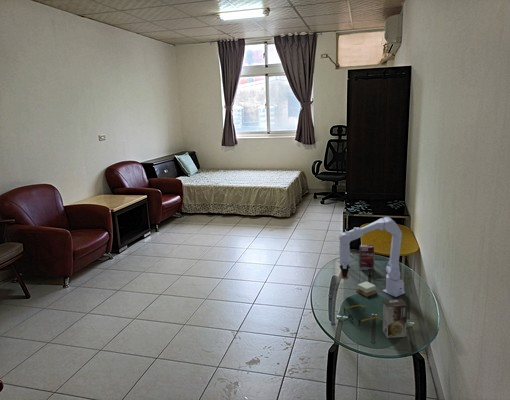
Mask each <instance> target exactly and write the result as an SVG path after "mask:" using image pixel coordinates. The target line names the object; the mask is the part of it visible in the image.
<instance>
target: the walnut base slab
mask: <svg viewBox="0 0 510 400" xmlns="http://www.w3.org/2000/svg"><path fill="white" fill-rule="evenodd" d="M377 292H378V291H377V289H376V288H375V290H373V291H370V292H367V293H366V292H364V291H362V290H360V289H358V287H357V288H356V293H358V294H360V295H362V296H364V297H366V298H367V297H370V296H373V295H375V294H377Z"/></svg>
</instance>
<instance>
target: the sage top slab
mask: <svg viewBox="0 0 510 400" xmlns="http://www.w3.org/2000/svg"><path fill="white" fill-rule="evenodd" d="M357 288H358V289H360V290H362V291H364V292H366V293H367V292H370V291H373V290H375V289H376V285H375V284H373V283H371V282H369V281H367V280H365V281H364V282H360V283H358V284H357Z"/></svg>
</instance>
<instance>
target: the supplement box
mask: <svg viewBox="0 0 510 400" xmlns="http://www.w3.org/2000/svg"><path fill="white" fill-rule="evenodd" d="M358 249H359V253H358V255H359V257H358V258H359V259H358V260H359V261H358V268H359V267H360V268H359V269H360V271H369V270H368V269H373V270H374V268H375V267H374V263H375V262H374V259H375V247H374V245H373V244H368V245H367V244H366V245H361V244H360V245H359V248H358Z"/></svg>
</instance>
